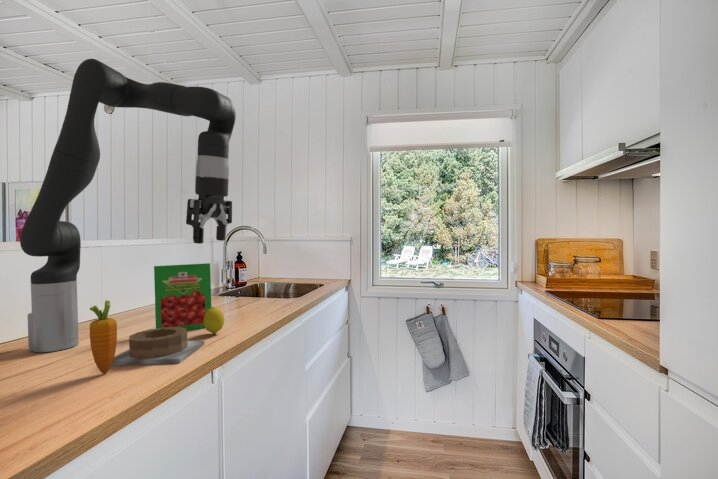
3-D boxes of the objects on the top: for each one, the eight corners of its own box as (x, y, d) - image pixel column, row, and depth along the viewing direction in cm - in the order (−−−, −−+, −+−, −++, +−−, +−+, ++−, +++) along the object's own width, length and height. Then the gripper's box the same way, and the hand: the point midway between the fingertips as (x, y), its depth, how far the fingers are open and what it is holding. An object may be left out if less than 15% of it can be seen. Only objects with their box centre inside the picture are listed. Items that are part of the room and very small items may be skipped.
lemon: (217, 337, 101) (216, 308, 101) (199, 336, 102) (199, 308, 102) (228, 331, 106) (227, 304, 106) (211, 331, 107) (210, 304, 107)
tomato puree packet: (155, 334, 105) (153, 266, 105) (156, 333, 106) (154, 266, 106) (212, 327, 113) (210, 263, 112) (211, 326, 114) (210, 263, 113)
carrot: (96, 380, 71) (94, 304, 71) (85, 375, 74) (83, 302, 74) (123, 372, 75) (121, 300, 75) (112, 367, 78) (110, 298, 78)
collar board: (106, 365, 79) (105, 343, 79) (141, 346, 93) (141, 327, 93) (179, 363, 80) (179, 340, 80) (204, 344, 94) (203, 325, 94)
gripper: (217, 177, 96) (215, 238, 98) (178, 172, 82) (176, 242, 84) (242, 179, 94) (239, 241, 96) (206, 174, 80) (203, 246, 82)
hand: (209, 241), depth 90 cm, fingers open, 8 cm apart
